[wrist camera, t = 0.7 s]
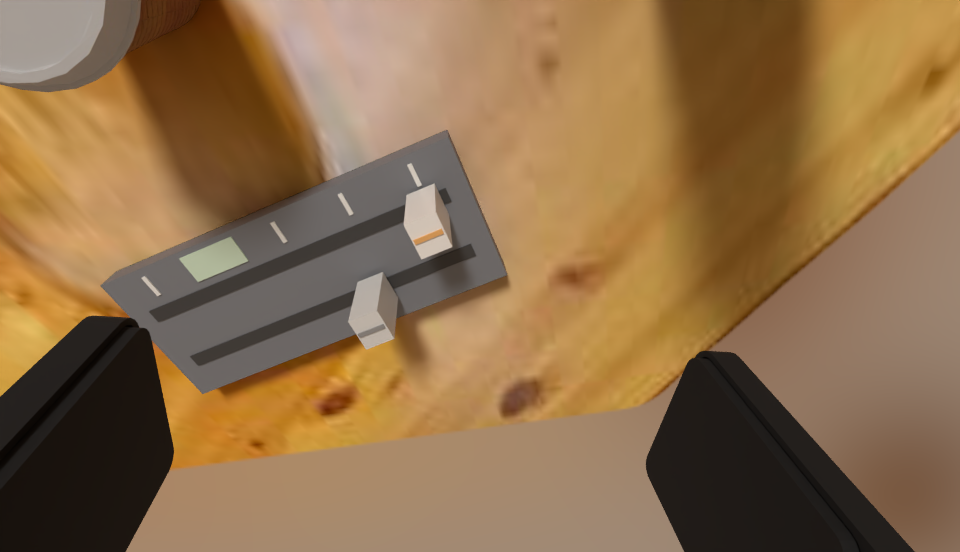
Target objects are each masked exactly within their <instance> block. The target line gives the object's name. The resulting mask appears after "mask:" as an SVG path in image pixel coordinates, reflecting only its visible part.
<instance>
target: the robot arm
mask: <svg viewBox="0 0 960 552" xmlns="http://www.w3.org/2000/svg"><path fill="white" fill-rule="evenodd" d="M173 454H174V448H173V442H172V437H171V433H170V428H169V423H168V418H167V413H166V408H165V403H164V398H163V394H162V389H161V384H160V379H159V374H158V369H157V364H156V360H155V355H154V350H153V345H152V340H151V336H150V333H149V331H148V330H147V329H146V328H139V325H138V323H137V322H136V320H135V319H132V318H124V317H107V316H89V317H86V318H85V319H83V320H82V321H81V322H80V323H79V324H78V325H77V326H76V327H74V328H73V329H72V330H71V331H70V332H69V333H68V334H67V335H66V336H65V337H64V338H63V339H62V340H61V341H59V342H58V343H57V344H56V345H55V346H54V347H53V348H52V349H51V350H50V351H49V352H48V353H47V354H46V355H44V356H43V357H42V358H41V359H40V360H39V361H38V362H37V363H36V364H35V365H34V366H33V367H32V368H31V369H30V370H28V371H27V372H26V373H25V374H24V375H23V376H22V377H21V378H20V379H19V380H18V381H17V382H16V383H15V384H13V385H12V386H11V387H10V388H9V389H8V390H7V391H6V392H5V393H4V394H3V395H2V396H1V397H0V552H126V550H127V548H128V546H129V544H130V542H131V540H132V539H133V537H134V535H135V533H136V531H137V529H138V528H139V525H140V524H141V522H142V520H143V518H144V516H145V515H146V513H147V511H148V509H149V507H150V505H151V504H152V502H153V500H154V498H155V496H156V494H157V492H158V490H159V489H160V487H161V485H162V483H163V481H164V479H165V478H166V476H167V473H168V472H169V470H170V467H171V464H172V461H173ZM646 470H647V474H648V477H649V479H650V481H651V483H652V485H653V488H654V490H655V492H656V494H657V496H658V498H659V500H660V502H661V504H662V506H663V508H664V510H665V512H666V515H667V517H668V519H669V521H670V523H671V525H672V527H673V529H674V531H675V533H676V535H677V537H678V540H679V542H680V544H681V546H682V548H683V550H684V552H914V551H913V549H912V548H911V547H910V546H909V545H908V544H907V543H906V542H905V541H904V540H903V538H902V537H901V536H900V535H899V534H898V533H897V532H896V531H895V530H894V528H893V527H892V526H891V525H890V524H889V523H888V522H887V521H886V519H885V518H883V516H882V515H881V514H880V513H879V512H878V511H877V510H876V508H875V507H874V506H873V505H872V504H871V503H870V502H869V501H868V500H867V498H866V497H865V496H864V495H863V494H862V493H861V492H860V491H859V490H858V489H857V487H856V486H855V485H854V484H853V483H852V482H851V481H850V480H849V479H848V477H847V476H846V475H845V474H844V473H843V472H842V471H841V470H840V468H839V467H838V466H837V465H836V464H835V463H834V462H833V461H832V460H831V458H830V457H829V456H828V455H827V454H826V453H825V452H824V451H823V450H822V449H821V447H820V446H819V445H818V444H817V443H816V442H815V441H814V440H813V438H812V437H811V436H810V435H809V434H808V433H807V432H806V431H805V430H804V429H803V427H802V426H801V425H800V424H799V423H798V422H797V421H796V420H795V419H794V417H793V416H792V415H791V414H790V413H789V412H788V411H787V410H786V409H785V407H783V405H782V404H781V403H780V402H779V401H778V400H777V399H776V397H775V396H774V395H773V394H772V393H771V392H770V391H769V390H768V389H767V388H766V387H765V385H764V384H763V383H762V382H761V381H760V380H759V379H758V377H757V376H756V375H755V374H754V373H753V372H752V371H751V370H750V369H749V367H748V366H747V365H746V364H745V363H744V362H743V361H742V360H741V359H740V358H739V357H738V356H737V355H736V354H734V353H731V352H716V351H715V352H714V351H702V352H700V353H698V354H697V355H696V357H695V358H692V359H691V360H689V361H688V363H687V365H686V367H685V370H684V372H683V374H682V377H681V379H680V381H679V384H678V386H677V388H676V391H675V393H674V395H673V397H672V400H671V402H670V404H669V407H668V409H667V412H666V414H665V416H664V419H663V421H662V423H661V425H660V428H659V430H658V433H657V435H656V437H655V440H654V442H653V444H652V446H651V449H650V451H649V453H648V456H647V459H646Z"/></svg>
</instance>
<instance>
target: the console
mask: <svg viewBox="0 0 960 552" xmlns="http://www.w3.org/2000/svg"><path fill="white" fill-rule="evenodd" d="M434 183H435V186H436V188H437V190H438V192H439V194H440V196H441V199H442V201H443V203H444V205H445V207H446V209H447V211H448V214H449V219H450V228H451V238H452V247H451V248H449V249H446V250H444V251H441V252H439V253H436V254H434V255H431V256H429V257H426V258H424V259H422V260H421V258H420V256H419V254H418V252H417V250H416V248H415V246H414V244H413V242H412V240H411V239H410V237H409V235H408V233H407V231H406V229H405V227H404V216H405V206H406V195H408V194H410V193H412V192H415V191H417V190H420V189H422V188H424V187H427V186H429V185H432V184H434ZM381 272H383V273H384V274H385V276H386V278H387V280H388V281H389V283H390V285H391V287H392V288H393V290H394V292H395V293H396V295H397V297H398V304H397V315H396V318H399V317H401V316H404V315H406V314H409V313H411V312H414V311H416V310H419V309H422V308H424V307H427V306H429V305H432V304H434V303H437V302H440V301H442V300H445V299H447V298H450V297H452V296H455V295H457V294H460V293H463V292H465V291H468V290H470V289H473V288H475V287H478V286H480V285H483V284H486V283H488V282H491V281H493V280H496V279H498V278H501V277H504V276H506V275H507V273H506V269H505V266H504V263H503V260H502V258H501V255H500V253H499V251H498V248H497V246H496V244H495V241H494V239H493V237H492V234H491V232H490V229H489V227H488V225H487V222H486V220H485V218H484V215H483V213H482V211H481V208H480V206H479V204H478V201H477V199H476V196H475V194H474V192H473V189H472V187H471V185H470V182H469V180H468V178H467V175H466V173H465V171H464V168H463V166H462V163H461V161H460V159H459V156H458V154H457V152H456V149H455V147H454V145H453V142H452V140H451V138H450V135H449V133H448V130H445V131H443V132H441V133H438V134H436V135H434V136H431V137H429V138H427V139H424V140H422V141H420V142H417V143H415V144H413V145H410V146H408V147H406V148H403V149H401V150H399V151H396V152H394V153H392V154H389V155H387V156H385V157H382V158H380V159H378V160H375V161H373V162H371V163H368V164H366V165H364V166H361V167H359V168H357V169H354V170H352V171H350V172H347V173H345V174H343V175H340V176H338V177H336V178H333V179H331V180H329V181H326V182H324V183H322V184H319V185H317V186H315V187H312V188H310V189H308V190H305V191H303V192H301V193H298V194H296V195H294V196H291V197H289V198H287V199H284V200H282V201H280V202H277V203H275V204H273V205H270V206H268V207H266V208H263V209H261V210H259V211H256V212H254V213H252V214H249V215H247V216H245V217H242V218H240V219H238V220H235V221H233V222H231V223H228V224H226V225H224V226H221V227H219V228H217V229H214V230H212V231H210V232H207V233H205V234H203V235H200V236H198V237H196V238H193V239H191V240H189V241H186V242H184V243H182V244H179V245H177V246H175V247H172V248H170V249H168V250H165V251H163V252H161V253H158V254H156V255H154V256H151V257H149V258H147V259H144V260H142V261H140V262H137V263H135V264H133V265H130V266H128V267H126V268H123V269H121V270H119V271H116V272H115V273H114V274H113V275H112V276H111V277H109V278H108V279H107V280H106V281H105V282H104V283H103V284H102V285H100V286H101V287H102V288H103V289H104V290H105V291H106V292H107V293H108V294H109V295H110V296H111V297H112V298H113V300H114V301H115V302H116V303H117V304H118V305H119V306H120V307H121V308H122V309H123V310H124V311H125V312H126V313H127V314H128V315H129V316H130V318H132V319H135V320H136V322H137V323H138V325H139V327H140V328H146V329H147V330H148V331H149V333H150V336H151V340H152V341H153V342H154V343H155V344H156V345H157V346H158V347H159V348H160V349H161V350H162V351H163V352H164V353H165V355H166V356H167V357H168V358H169V359H170V360H171V361H172V362H173V363H174V364H175V365H176V366H177V367H178V368H179V369H180V370H181V371H182V373H183V374H184V375H185V376H186V377H187V378H188V379H189V380H190V381H191V382H192V383H193V384H194V385H195V386H196V387H197V388H198V389H199V390H200V392H201V393H202V394H204V393H207V392H209V391H212V390H214V389H217V388H219V387H222V386H224V385H227V384H230V383H232V382H235V381H237V380H240V379H242V378H245V377H247V376H250V375H253V374H255V373H258V372H260V371H263V370H265V369H268V368H271V367H273V366H276V365H278V364H281V363H283V362H286V361H288V360H291V359H294V358H296V357H299V356H301V355H304V354H306V353H309V352H311V351H314V350H317V349H319V348H322V347H324V346H327V345H329V344H332V343H335V342H337V341H340V340H342V339H345V338H347V337H350V336H352V335H355V334H356V333H355V332H354V330H353V329H352V327H351V326H350V324H349V323H348V320H349V316H350V312H351V307H352V303H353V299H354V295H355V291H356V287H357V282H359V281H361V280H364V279H366V278H369V277H371V276H374V275H376V274H379V273H381Z"/></svg>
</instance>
